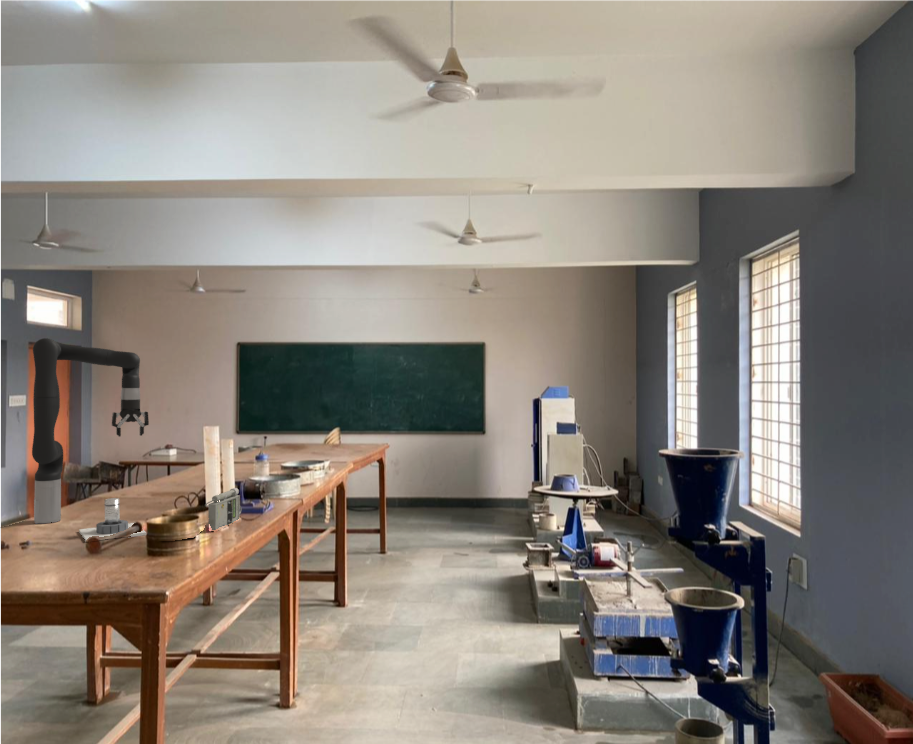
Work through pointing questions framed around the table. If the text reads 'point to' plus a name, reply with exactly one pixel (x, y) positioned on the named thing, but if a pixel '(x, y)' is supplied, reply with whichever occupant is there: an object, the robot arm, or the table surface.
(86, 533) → the ring plate
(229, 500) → the geiger counter
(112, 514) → the piston
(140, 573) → the table surface
